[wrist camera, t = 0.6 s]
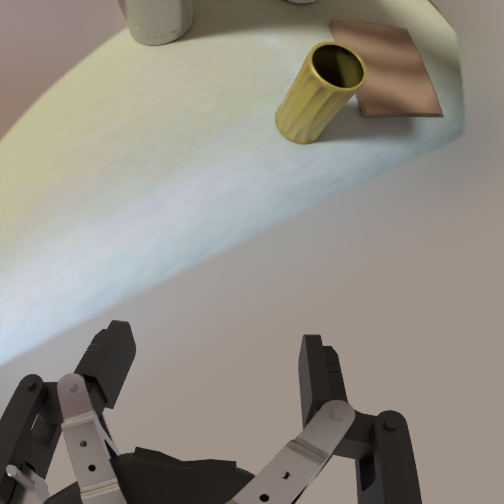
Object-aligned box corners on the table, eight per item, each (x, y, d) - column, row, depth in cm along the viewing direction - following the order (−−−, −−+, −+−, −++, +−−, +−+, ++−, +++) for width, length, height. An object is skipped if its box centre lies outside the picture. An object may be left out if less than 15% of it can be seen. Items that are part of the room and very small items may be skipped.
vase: (329, 113, 35) (378, 58, 21) (313, 152, 35) (362, 108, 21) (285, 93, 35) (316, 27, 21) (267, 131, 35) (293, 73, 21)
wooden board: (328, 25, 35) (331, 20, 33) (402, 33, 36) (406, 29, 34) (362, 116, 36) (367, 112, 34) (436, 116, 37) (442, 113, 35)
